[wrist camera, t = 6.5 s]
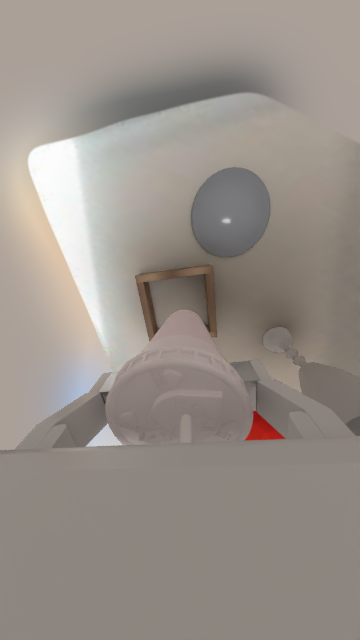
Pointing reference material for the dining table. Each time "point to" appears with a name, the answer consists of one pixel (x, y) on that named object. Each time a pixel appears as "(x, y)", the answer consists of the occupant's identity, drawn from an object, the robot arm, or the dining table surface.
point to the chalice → (321, 380)
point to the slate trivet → (230, 212)
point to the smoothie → (179, 390)
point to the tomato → (262, 429)
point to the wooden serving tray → (206, 270)
